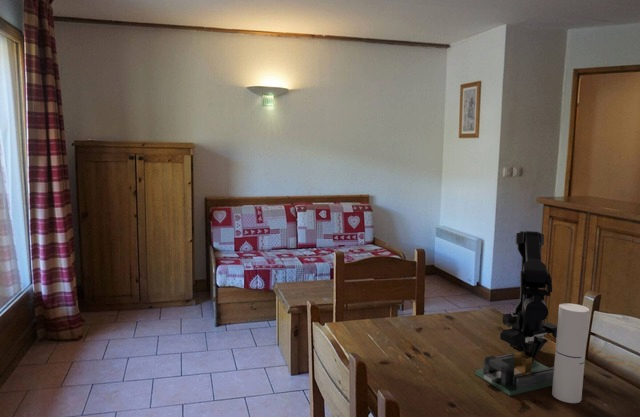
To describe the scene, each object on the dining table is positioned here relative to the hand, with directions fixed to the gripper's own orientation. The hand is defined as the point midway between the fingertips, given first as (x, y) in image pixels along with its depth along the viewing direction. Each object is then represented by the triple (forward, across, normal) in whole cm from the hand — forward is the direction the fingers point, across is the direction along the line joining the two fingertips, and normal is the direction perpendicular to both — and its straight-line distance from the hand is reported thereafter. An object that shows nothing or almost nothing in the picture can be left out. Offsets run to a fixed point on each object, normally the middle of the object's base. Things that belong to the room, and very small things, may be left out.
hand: (529, 361), depth 144 cm
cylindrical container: (+5, 0, +13) cm, 14 cm away
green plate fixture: (+5, +3, 0) cm, 5 cm away
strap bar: (+3, +8, 0) cm, 9 cm away
